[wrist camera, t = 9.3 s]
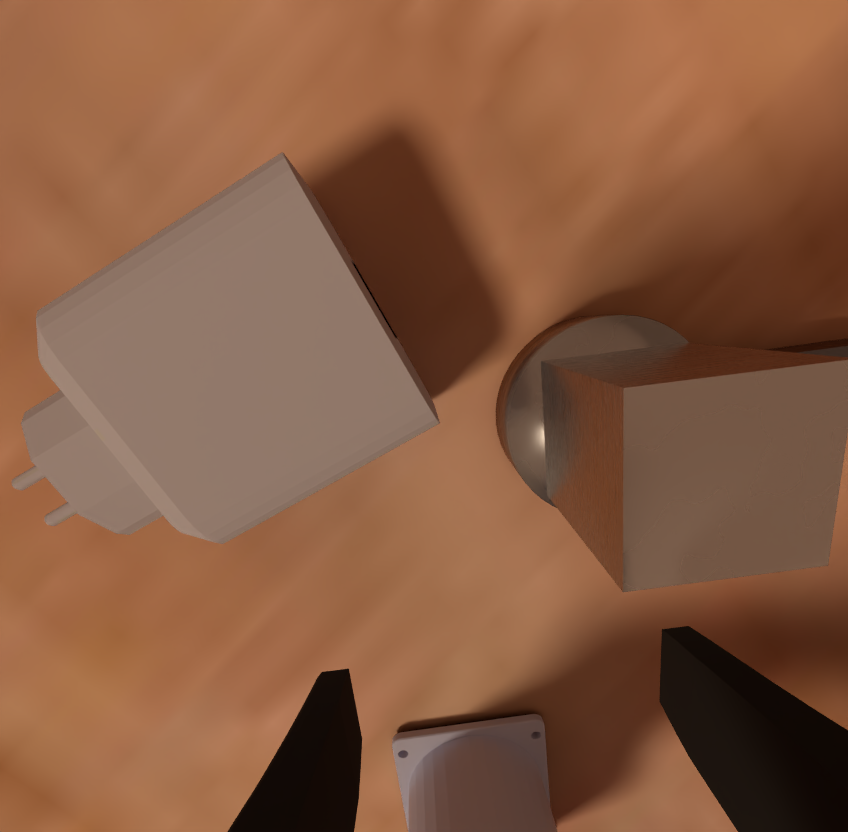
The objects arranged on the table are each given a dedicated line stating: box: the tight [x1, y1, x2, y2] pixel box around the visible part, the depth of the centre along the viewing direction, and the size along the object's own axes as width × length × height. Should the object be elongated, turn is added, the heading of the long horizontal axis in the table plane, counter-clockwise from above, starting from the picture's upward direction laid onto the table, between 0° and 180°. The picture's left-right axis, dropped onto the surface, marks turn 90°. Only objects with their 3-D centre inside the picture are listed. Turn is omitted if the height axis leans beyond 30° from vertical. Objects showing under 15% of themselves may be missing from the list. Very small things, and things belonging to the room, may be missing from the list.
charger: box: [12, 152, 440, 544], centre depth 14 cm, size 5×9×15 cm
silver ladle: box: [496, 315, 848, 508], centre depth 15 cm, size 8×19×5 cm, turn 97°
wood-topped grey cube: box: [541, 343, 848, 592], centre depth 12 cm, size 5×5×6 cm
